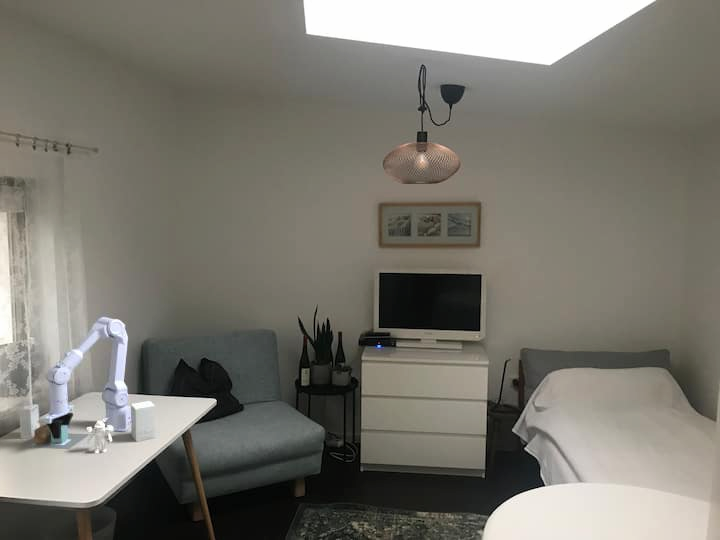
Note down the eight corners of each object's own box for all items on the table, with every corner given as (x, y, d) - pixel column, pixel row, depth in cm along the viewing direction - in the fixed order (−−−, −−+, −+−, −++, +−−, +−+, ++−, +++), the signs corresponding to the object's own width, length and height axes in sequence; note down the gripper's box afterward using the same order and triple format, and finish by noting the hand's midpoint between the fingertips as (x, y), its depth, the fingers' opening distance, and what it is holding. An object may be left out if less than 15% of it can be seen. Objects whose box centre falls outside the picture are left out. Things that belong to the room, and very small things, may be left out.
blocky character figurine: (114, 448, 207) (113, 415, 206) (113, 452, 203) (112, 419, 202) (87, 451, 204) (86, 418, 203) (85, 455, 201) (84, 422, 199)
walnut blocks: (59, 435, 216) (58, 422, 216) (45, 443, 208) (44, 430, 207) (49, 434, 216) (48, 421, 216) (34, 443, 208) (34, 430, 208)
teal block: (68, 438, 211) (67, 425, 211) (61, 442, 207) (61, 429, 207) (57, 437, 212) (57, 424, 211) (51, 442, 208) (50, 428, 207)
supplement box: (156, 438, 217) (155, 405, 216) (135, 442, 213) (134, 409, 212) (151, 431, 223) (150, 400, 222) (131, 435, 219) (130, 403, 218)
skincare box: (32, 441, 213) (30, 409, 212) (20, 441, 213) (18, 409, 212) (40, 434, 219) (39, 404, 218) (28, 434, 219) (27, 404, 218)
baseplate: (90, 436, 217) (90, 433, 217) (68, 451, 204) (68, 448, 203) (50, 435, 219) (49, 432, 219) (26, 449, 205) (25, 446, 205)
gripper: (60, 393, 215) (61, 428, 217) (35, 405, 201) (37, 443, 202) (78, 393, 215) (79, 428, 216) (54, 406, 201) (56, 443, 202)
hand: (60, 435), depth 209 cm, fingers closed on teal block, 4 cm apart
